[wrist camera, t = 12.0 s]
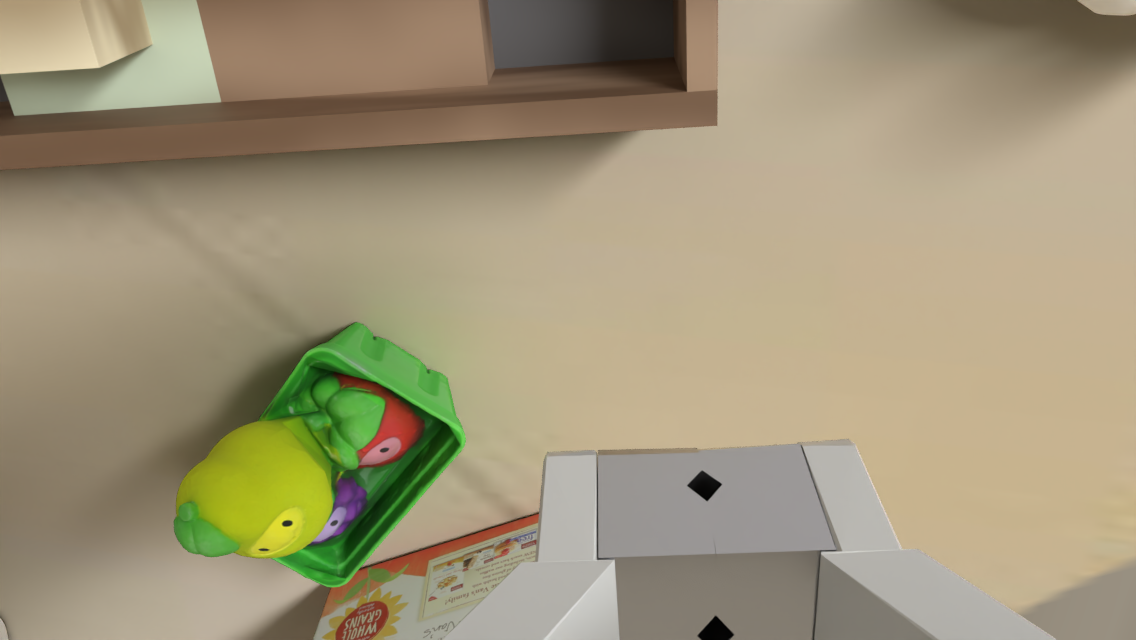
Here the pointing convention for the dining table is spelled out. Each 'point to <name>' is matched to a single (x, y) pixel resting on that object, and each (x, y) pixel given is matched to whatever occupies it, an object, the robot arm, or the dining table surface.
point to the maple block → (69, 33)
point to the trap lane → (368, 78)
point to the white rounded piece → (1111, 6)
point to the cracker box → (426, 587)
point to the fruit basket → (325, 461)
